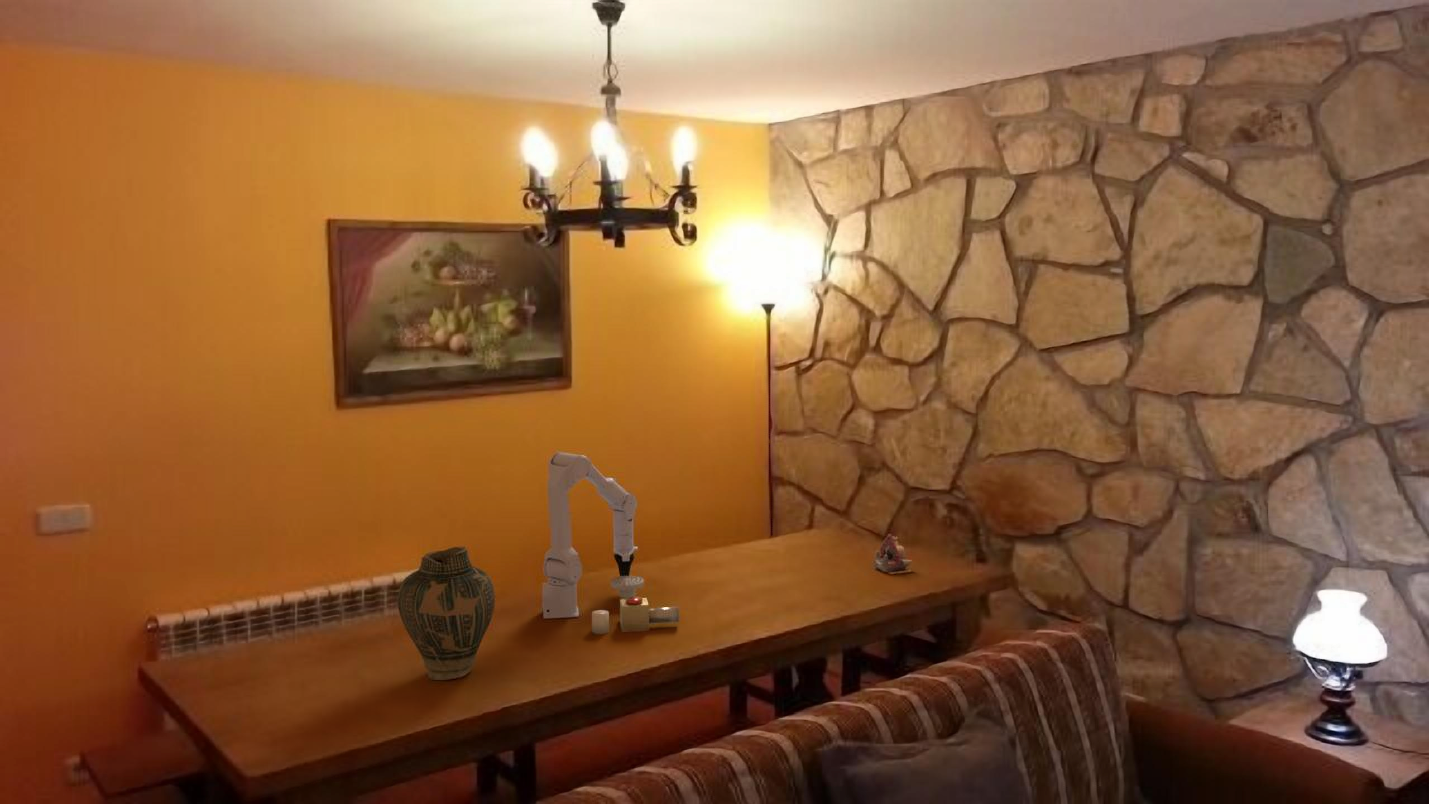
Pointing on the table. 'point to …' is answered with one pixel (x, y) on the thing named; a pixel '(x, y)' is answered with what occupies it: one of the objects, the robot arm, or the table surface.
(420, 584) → the vase
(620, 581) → the showerhead
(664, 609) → the beige red button device
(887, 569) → the grey pink figurine
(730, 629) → the table surface
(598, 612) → the pvc coupling
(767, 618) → the table surface
